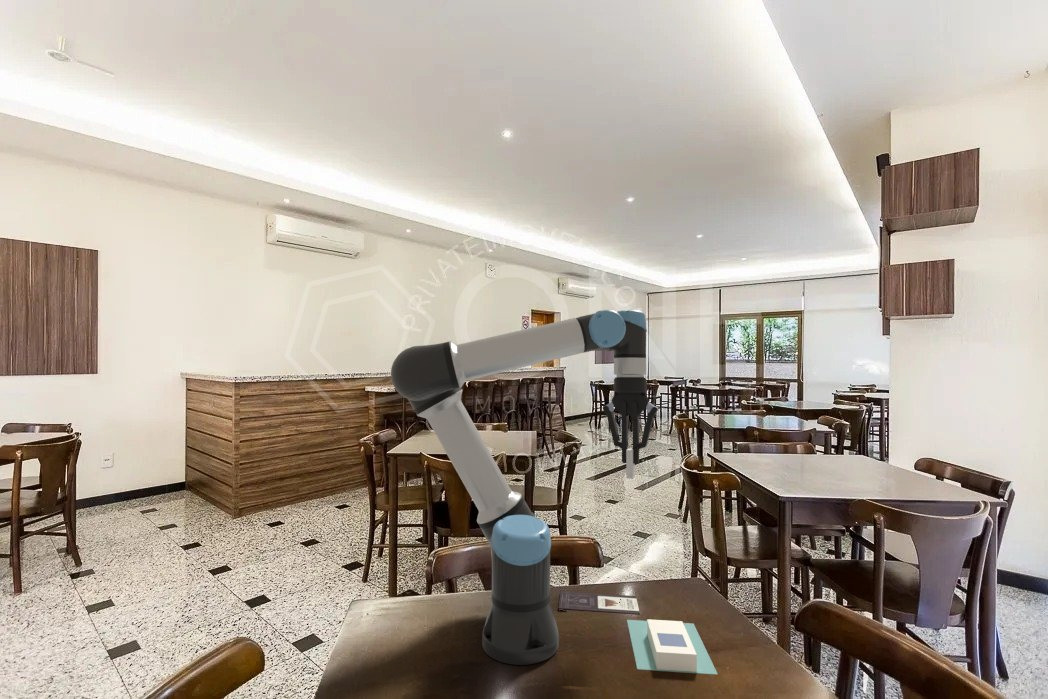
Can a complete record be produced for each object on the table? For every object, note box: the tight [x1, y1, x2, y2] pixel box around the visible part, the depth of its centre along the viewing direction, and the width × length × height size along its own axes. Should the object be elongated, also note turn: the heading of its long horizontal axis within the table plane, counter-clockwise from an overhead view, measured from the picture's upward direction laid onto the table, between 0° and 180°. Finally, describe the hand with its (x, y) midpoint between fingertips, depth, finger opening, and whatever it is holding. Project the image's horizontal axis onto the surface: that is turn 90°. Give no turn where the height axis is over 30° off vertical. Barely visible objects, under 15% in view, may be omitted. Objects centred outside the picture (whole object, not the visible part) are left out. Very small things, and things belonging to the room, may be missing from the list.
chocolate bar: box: [558, 590, 641, 615], centre depth 115 cm, size 9×1×18 cm
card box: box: [646, 618, 697, 672], centre depth 94 cm, size 7×3×12 cm
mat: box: [626, 619, 719, 676], centre depth 97 cm, size 14×18×1 cm
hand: (630, 477), depth 115 cm, fingers closed
